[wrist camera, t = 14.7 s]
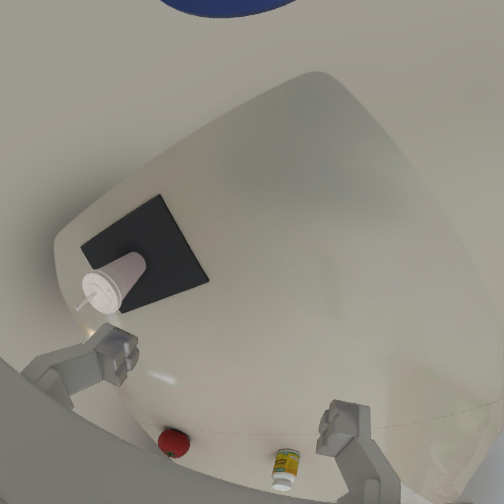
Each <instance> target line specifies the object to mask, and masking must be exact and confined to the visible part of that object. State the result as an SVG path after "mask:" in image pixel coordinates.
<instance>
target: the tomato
mask: <svg viewBox="0 0 504 504" xmlns="http://www.w3.org/2000/svg"><path fill="white" fill-rule="evenodd" d="M158 446H159V448H160V449H161V451H163V452H164V453H165V454H166V455H167V456H168V457H172V458H180V457H181V456H183V455H184V454H186V453H187V451H188V450H189V447H190V443H189V439H188V438H187V436H186V435H184V434H182V433H179V432H177V431H174V430H166V431H164V432H162V433H161V435H160V436H159V439H158Z"/></svg>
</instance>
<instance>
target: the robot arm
mask: <svg viewBox="0 0 504 504" xmlns="http://www.w3.org/2000/svg"><path fill="white" fill-rule="evenodd" d="M137 344H138V337H136V336H134V335H132V334H130V333H128V332H126V331H124V330H121V329H119V328H117V327H115V326H113V325H111V324H109V323H105V324H103V325H102V326H101V327H100V328H99V329H98V330H97V331H96V332H95V333H94V334H93V335H92V337H91V338H90V339H89V340H88V341H87V342H86V343H85V344H84V345H83V344H77V345H74V346H71V347H67V348H64V349H60V350H57V351H53V352H50V353H47V354H43V355H40V356H37V357H36V358H35V359H34V360H33V361H32V362H31V363H30V364H29V365H28V366H27V367H26V368H25V369H24V370H23V371H22V372H21V373H19V372H18V371H16V370H15V369H14V368H13V367H11V366H10V365H9V364H8V363H7V362H6V361H4V360H3V359H2V358H1V357H0V504H400V495H401V485H400V479H399V477H398V476H397V474H396V472H395V471H394V469H393V468H392V466H391V465H390V463H389V462H388V460H387V459H386V457H385V456H384V454H383V453H382V451H381V450H380V448H379V447H378V445H377V444H376V442H375V441H374V440H372V439H371V425H370V407H369V406H365V405H360V404H356V403H350V402H345V401H340V400H335V399H334V400H333V401H332V402H331V403H330V407H329V409H328V410H326V411H325V412H324V414H323V416H322V418H321V421H320V425H319V433H320V434H321V436H320V437H319V439H318V440H317V446H316V454H321V455H325V456H331V457H335V460H336V462H337V465H338V467H339V469H340V471H341V474H342V476H343V478H344V480H345V483H346V485H347V487H348V489H349V492H348V493H346V494H345V495H343V496H342V497H340V498H339V499H337V503H329V502H321V501H314V500H307V499H301V498H295V497H290V496H285V495H280V494H275V493H270V492H266V491H261V490H257V489H253V488H249V487H246V486H242V485H238V484H235V483H231V482H228V481H225V480H221V479H218V478H215V477H212V476H209V475H206V474H203V473H200V472H197V471H194V470H192V469H189V468H186V467H184V466H181V465H178V464H176V463H173V462H171V461H168V460H166V459H164V458H161V457H159V456H157V455H154V454H152V453H150V452H148V451H145V450H143V449H141V448H139V447H137V446H135V445H133V444H131V443H129V442H127V441H125V440H123V439H121V438H119V437H117V436H115V435H113V434H111V433H109V432H107V431H106V430H104V429H102V428H100V427H99V426H97V425H95V424H93V423H92V422H90V421H88V420H87V419H85V418H83V417H82V416H80V415H78V414H77V413H75V412H73V411H72V409H73V408H74V406H73V403H72V401H71V399H70V396H71V395H73V394H75V393H77V392H79V391H82V390H84V389H86V388H88V387H90V386H92V385H94V384H97V383H99V382H101V381H103V380H105V381H107V382H109V383H111V384H113V385H116V386H118V387H120V386H121V385H122V384H123V382H124V381H125V379H126V378H127V372H128V371H131V370H133V368H134V367H135V366H136V364H137V361H138V358H139V350H138V348H137V347H136V345H137ZM446 504H473V503H472V502H469V501H463V502H455V503H446Z"/></svg>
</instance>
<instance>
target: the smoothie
mask: <svg viewBox="0 0 504 504" xmlns="http://www.w3.org/2000/svg"><path fill="white" fill-rule="evenodd" d="M145 269H146V263H145V260H144V258H143V257H142V256H141V255H140V254H139V253H136V252H130V253H128V254H126V255H124V256H123V257H121V258H119V259H117V260H115V261H113V262H111V263H109V264H107V265H105V266H103V267H101V268H99V269H98V270H91V271H90V272H88V273H87V274H86V275H85V276H84V278H83V281H82V286H83V291H84V294H85V296H86V298H85V299H84V300H83V301H82V302H81V303H80V304H78V305H77V306H76V307H75V310H76V311H78V310H79V309H80V308H82V307H83V306H84V305H85V304H86V303H87V302H88V301H89V302H90V304H91V305H92V306H93V307H94V308H96V309H97V310H98V311H100V312H102V313H105V314H112V313H114V312H115V311H116V310H118V309H119V308H120V306H121V304H122V300H123V299H124V297H125V296H126V295H127V293H128V292H129V291H130V289H131V288H132V287H133V285H134V284H135V283H136V281H137V280H138V279H139V277H140V276H141V275H142V274H143V272H144V271H145Z"/></svg>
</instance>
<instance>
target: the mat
mask: <svg viewBox="0 0 504 504" xmlns="http://www.w3.org/2000/svg"><path fill="white" fill-rule="evenodd" d="M80 248H81V249H82V251H83V253H84V255H85V256H86V258H87V260H88V261H89V263H90V265H91V266H92V268H93V270H98V269H99V268H101V267H103V266H105V265H107V264H109V263H111V262H113V261H115V260H117V259H119V258H121V257H123V256H124V255H126V254H128V253H130V252H136V253H139V254H140V255H141V256H142V257H143V258H144V260H145V263H146V269H145V271H144V272H143V274H142V275H141V276H140V277H139V279H138V280H137V281H136V283H135V284H134V285H133V287H132V288H131V289H130V291H129V292H128V293H127V295H126V296H125V297H124V299H123V300H122V304H121V306H120V308H119V310H120V312H121V313H122V314H123V313H125V312H128V311H131V310H134V309H136V308H139V307H142V306H145V305H147V304H150V303H153V302H155V301H158V300H161V299H164V298H166V297H169V296H172V295H174V294H177V293H180V292H183V291H185V290H188V289H191V288H193V287H196V286H199V285H201V284H204V283H207V282H209V279H208V277H207V276H206V274H205V272H204V271H203V269H202V267H201V266H200V264H199V262H198V261H197V259H196V257H195V255H194V254H193V252H192V250H191V249H190V247H189V245H188V243H187V242H186V240H185V238H184V236H183V235H182V233H181V231H180V229H179V228H178V226H177V224H176V222H175V221H174V219H173V217H172V215H171V213H170V212H169V210H168V208H167V206H166V204H165V203H164V201H163V199H162V197H161V195H160V194H159V195H157V196H156V197H154V198H153V199H151V200H149V201H148V202H146V203H145V204H143V205H142V206H140V207H138V208H137V209H135V210H134V211H132V212H131V213H129V214H128V215H126V216H125V217H123V218H122V219H120V220H119V221H117V222H116V223H114V224H113V225H111V226H110V227H108V228H107V229H105V230H104V231H102V232H101V233H99V234H98V235H97V236H95V237H94V238H92V239H91V240H90V241H88V242H87V243H85V244H84V245H83V246H81V247H80Z"/></svg>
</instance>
